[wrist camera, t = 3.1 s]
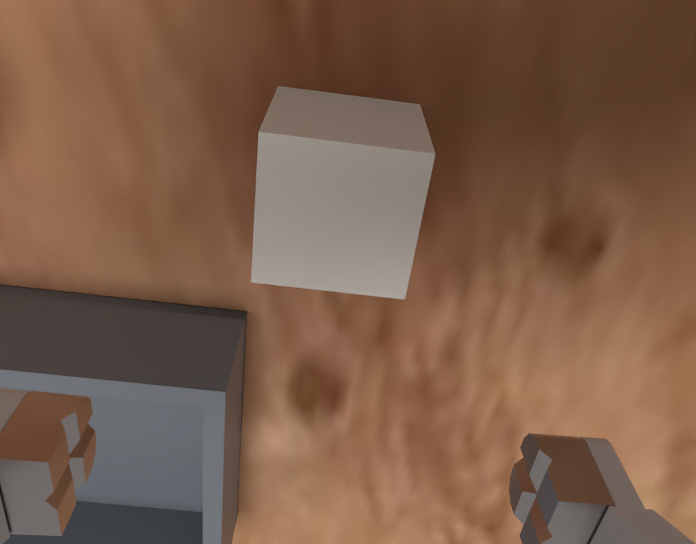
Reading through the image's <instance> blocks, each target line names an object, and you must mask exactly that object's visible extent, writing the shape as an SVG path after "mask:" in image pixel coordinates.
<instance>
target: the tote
mask: <svg viewBox="0 0 696 544" xmlns="http://www.w3.org/2000/svg"><path fill="white" fill-rule="evenodd" d="M246 319H247V312H244V311H235V310H226V309H216V308H207V307H198V306H189V305H180V304H170V303H161V302H152V301H143V300H133V299H124V298H115V297H106V296H97V295H87V294H78V293H69V292H60V291H50V290H41V289H32V288H23V287H14V286H4V285H0V390H1V389H3V388H6V389H15V390H23V391H39V392H48V393H57V394H67V395H76V396H85V397H88V398H90V399H91V404H92V410H93V414H92V416H91V418H90V420H89V422H88V424H89V425H90V426H91V427H92V428H93V429H94V430H95V434H96V453H95V457H94V461H93V465H92V469H91V472H90V474H89V477H88V479H87V481H86V483H85V484H83V485H82V486H81V487H79V488H78V489H76V490H75V497H76V506H75V508H74V510H73V512H72V515H71V517H70V519H69V521H68V523H67V525H66V528H65V530H64V532H63V534H62V536H45V535H20V534H10V538H9V539H7V540H6V541H5V542H4V543H3V544H232V539H233V534H234V529H235V524H236V519H237V508H238V487H239V466H240V445H241V424H242V403H243V382H244V361H245V340H246Z"/></svg>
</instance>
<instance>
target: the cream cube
mask: <svg viewBox="0 0 696 544" xmlns="http://www.w3.org/2000/svg"><path fill="white" fill-rule="evenodd" d="M434 159H435V151H434V147H433V144H432V141H431V138H430V135H429V131H428V128H427V125H426V122H425V119H424V116H423V112H422V109H421V106H420V104H414V103H406V102H398V101H391V100H383V99H375V98H367V97H360V96H352V95H344V94H337V93H329V92H321V91H313V90H306V89H298V88H290V87H282V86H278V87H277V89H276V92H275V94H274V97H273V99H272V101H271V104H270V106H269V108H268V111H267V113H266V115H265V118H264V120H263V122H262V125H261V127H260V129H259V132H258V152H257V172H256V192H255V212H254V232H253V252H252V272H251V282H252V283H261V284H270V285H279V286H288V287H297V288H306V289H315V290H324V291H333V292H342V293H351V294H360V295H369V296H378V297H387V298H396V299H404V300H405V297H406V292H407V287H408V282H409V278H410V273H411V268H412V263H413V259H414V254H415V249H416V244H417V240H418V235H419V230H420V225H421V221H422V216H423V211H424V206H425V202H426V197H427V192H428V187H429V183H430V178H431V173H432V168H433V164H434Z"/></svg>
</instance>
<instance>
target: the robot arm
mask: <svg viewBox="0 0 696 544" xmlns="http://www.w3.org/2000/svg"><path fill="white" fill-rule="evenodd" d="M92 414H93V410H92V404H91V399H90V398H88V397H85V396H76V395H67V394H57V393H48V392H39V391H23V390H15V389H6V388H3V389H1V390H0V544H3V543H4V542H5V541H6V540H7V539H9V538H10V534H20V535H45V536H62V534H63V532H64V530H65V528H66V525H67V523H68V521H69V519H70V517H71V515H72V512H73V510H74V508H75V506H76V497H75V490H76V489H78V488H79V487H81V486H82V485H83V484H85V483H86V481H87V479H88V477H89V474H90V472H91V469H92V465H93V461H94V457H95V453H96V434H95V430H94V429H93V428H92V427H91V426H90V425H89V424H88V422H89V420H90V418H91V416H92ZM520 448H521V451H522V454H523V457H524V458H522V459H521V460H520V461H518V462H517V463H515V464H514V467H513V470H512V473H511V476H510V486H509V494H510V502H511V506H512V510H513V513H514V515H515V516H516V517H517V518H518V519H519V520H520V521H521V522H522V523H523V524H524V526H523V529H522V531H521V534H520V538H521V541H522V544H695V543H694V542H692V541H691V540H690V539H689V538H687V537H686V536H685V535H684V534H682V533H681V532H680V531H679V530H678V529H676V528H675V527H674V526H673V525H671V524H670V523H669V522H668V521H666V520H665V519H664V518H663V517H661V516H660V515H659V514H658V513H656V512H655V511H654V510H650V509H645V507H644V506H643V504H642V502H641V500H640V498H639V496H638V494H637V492H636V490H635V488H634V486H633V484H632V483H631V481H630V479H629V477H628V475H627V473H626V471H625V469H624V467H623V465H622V463H621V462H620V460H619V458H618V456H617V454H616V452H615V450H614V448H613V446H612V444H611V443H610V442H609V441H608V440H607V439H602V438H587V437H579V438H578V437H571V436H558V435H544V434H531V433H528V435H527V436H526V437H525V438H524V440H523V442H522V445H521V447H520Z"/></svg>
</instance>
